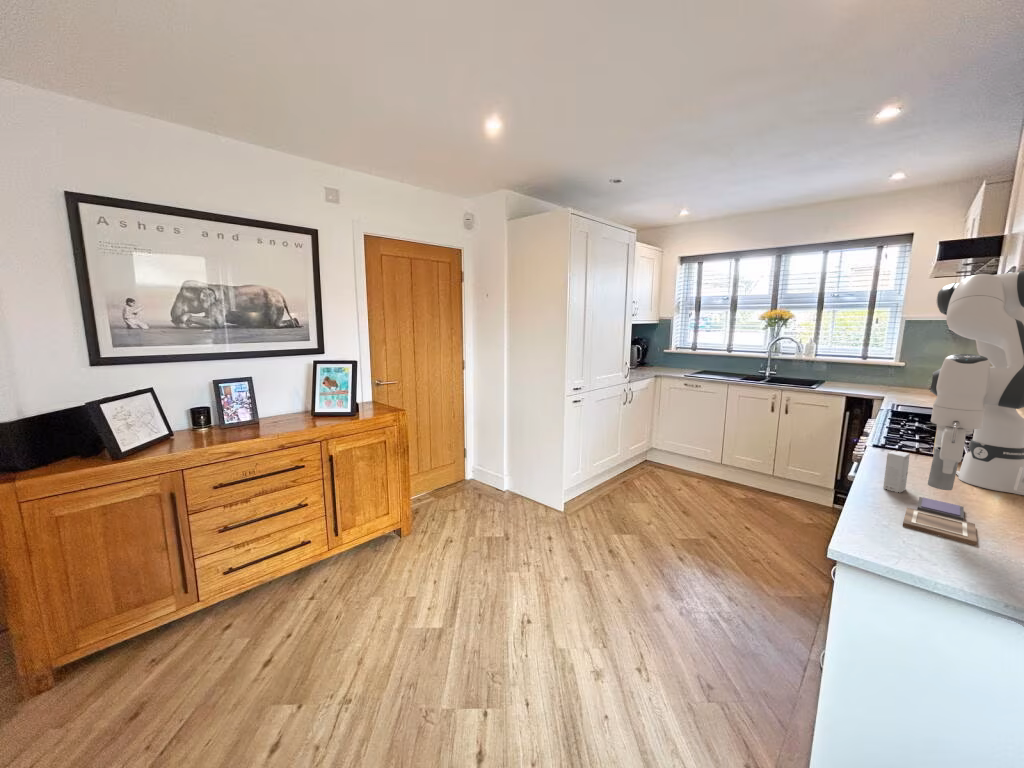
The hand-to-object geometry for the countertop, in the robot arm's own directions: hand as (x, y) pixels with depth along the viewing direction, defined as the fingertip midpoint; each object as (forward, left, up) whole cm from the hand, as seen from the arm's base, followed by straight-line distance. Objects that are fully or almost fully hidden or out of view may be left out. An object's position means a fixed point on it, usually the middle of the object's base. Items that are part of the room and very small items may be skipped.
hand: (947, 470), depth 105 cm
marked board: (0, 0, -16) cm, 16 cm away
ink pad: (-11, -8, -16) cm, 21 cm away
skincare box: (-14, -23, -16) cm, 31 cm away
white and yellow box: (-65, -49, -16) cm, 83 cm away
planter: (0, -1, -5) cm, 5 cm away
